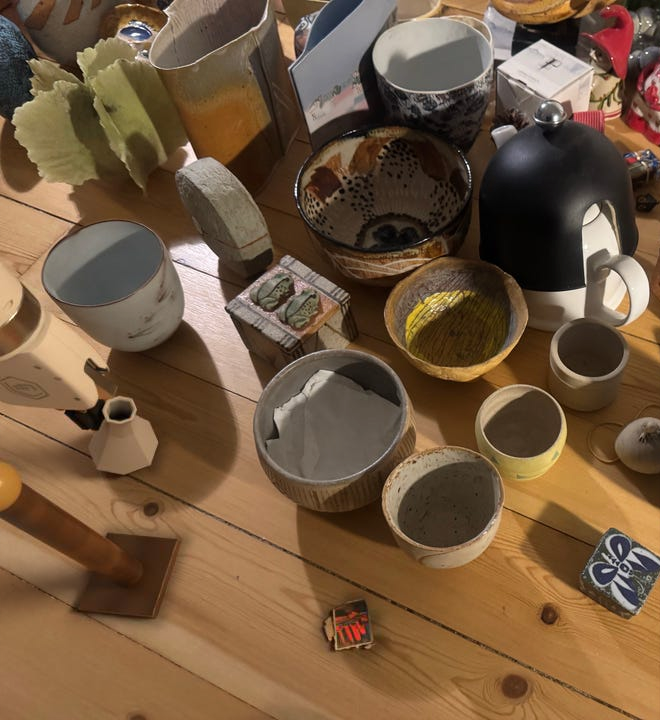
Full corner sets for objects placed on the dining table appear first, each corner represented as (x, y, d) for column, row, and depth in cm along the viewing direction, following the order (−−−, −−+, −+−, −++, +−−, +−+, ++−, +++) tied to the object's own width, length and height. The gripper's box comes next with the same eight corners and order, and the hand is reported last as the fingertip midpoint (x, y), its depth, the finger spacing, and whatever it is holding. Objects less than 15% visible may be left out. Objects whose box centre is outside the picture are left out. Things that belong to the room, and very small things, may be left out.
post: (82, 610, 73) (-105, 524, 51) (111, 535, 78) (-50, 425, 55) (156, 618, 73) (0, 533, 50) (181, 541, 77) (47, 432, 54)
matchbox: (363, 594, 73) (362, 593, 73) (381, 641, 71) (381, 640, 70) (320, 615, 72) (319, 614, 72) (337, 664, 70) (336, 663, 69)
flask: (159, 472, 82) (159, 439, 74) (87, 478, 79) (79, 444, 71) (157, 415, 85) (156, 377, 77) (88, 419, 82) (80, 380, 74)
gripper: (-115, 349, 59) (15, 445, 75) (54, 361, 58) (151, 455, 73) (-69, 279, 63) (45, 383, 79) (90, 288, 62) (175, 392, 77)
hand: (96, 418), depth 76 cm, fingers closed
